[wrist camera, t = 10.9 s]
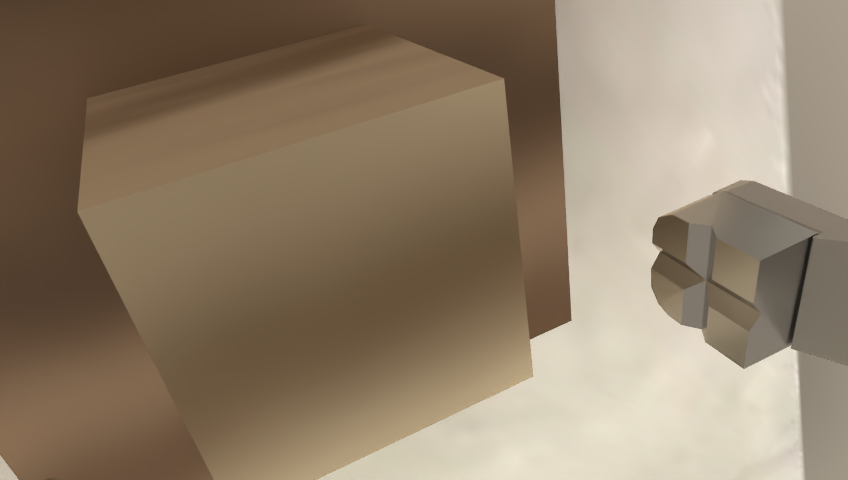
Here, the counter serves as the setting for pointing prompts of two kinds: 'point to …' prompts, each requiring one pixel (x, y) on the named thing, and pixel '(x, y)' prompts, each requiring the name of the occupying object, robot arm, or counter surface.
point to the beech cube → (313, 245)
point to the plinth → (82, 265)
